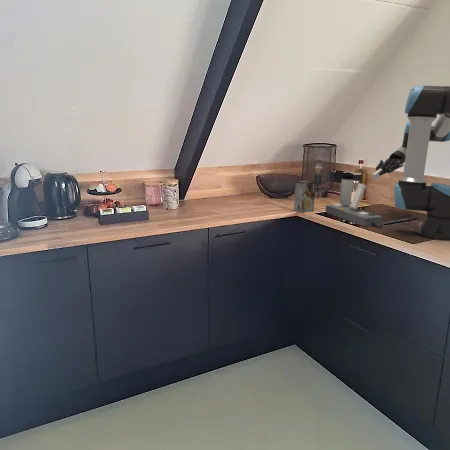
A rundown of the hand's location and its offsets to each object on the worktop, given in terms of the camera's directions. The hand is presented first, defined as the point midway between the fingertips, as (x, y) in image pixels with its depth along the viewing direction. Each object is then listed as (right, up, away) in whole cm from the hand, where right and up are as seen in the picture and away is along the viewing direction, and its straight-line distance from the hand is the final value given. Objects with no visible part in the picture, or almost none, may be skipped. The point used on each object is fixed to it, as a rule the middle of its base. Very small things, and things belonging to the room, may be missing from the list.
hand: (374, 176), depth 210 cm
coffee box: (-31, -16, +22) cm, 41 cm away
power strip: (-7, -21, +6) cm, 23 cm away
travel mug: (-6, -14, +33) cm, 36 cm away
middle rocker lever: (-8, -15, +7) cm, 19 cm away
